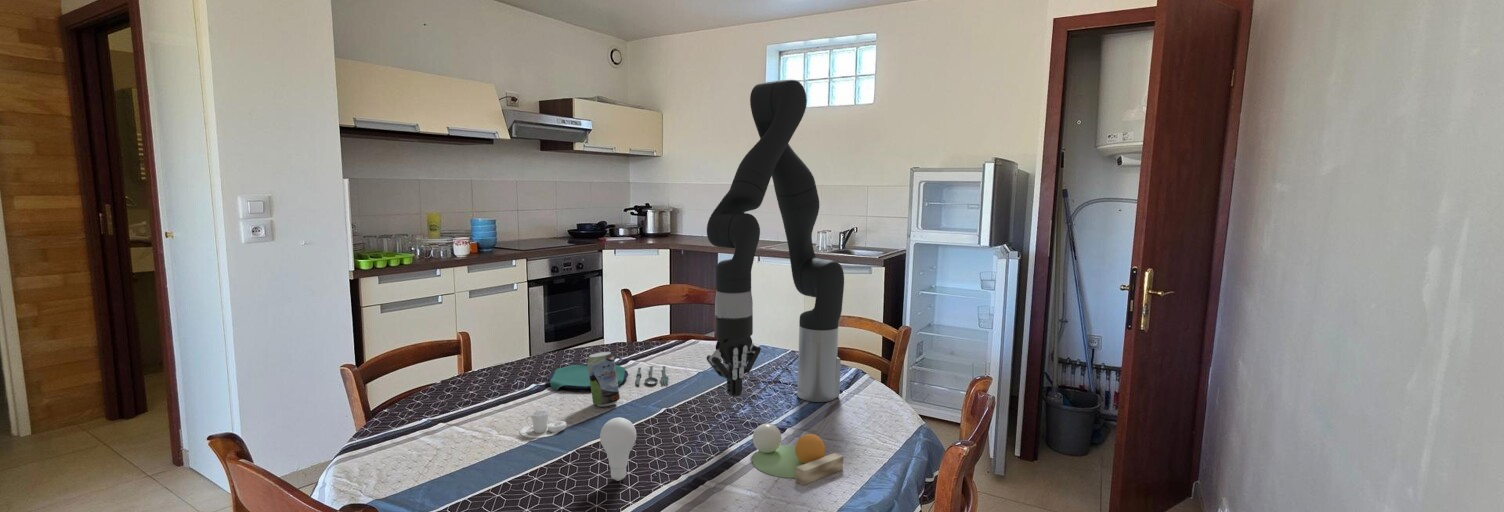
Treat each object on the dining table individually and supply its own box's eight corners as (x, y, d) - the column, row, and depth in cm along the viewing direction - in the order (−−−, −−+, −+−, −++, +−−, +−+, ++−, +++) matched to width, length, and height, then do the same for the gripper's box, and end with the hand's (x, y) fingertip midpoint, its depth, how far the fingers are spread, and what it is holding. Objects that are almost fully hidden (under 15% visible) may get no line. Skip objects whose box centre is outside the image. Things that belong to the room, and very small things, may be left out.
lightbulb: (602, 472, 120) (602, 412, 119) (637, 472, 120) (637, 412, 119) (598, 488, 114) (597, 425, 113) (634, 487, 114) (634, 424, 113)
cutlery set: (554, 371, 181) (553, 363, 181) (667, 369, 185) (667, 361, 185) (542, 396, 162) (541, 386, 161) (669, 392, 166) (669, 383, 166)
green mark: (803, 441, 136) (803, 440, 136) (842, 469, 123) (842, 468, 123) (739, 453, 129) (739, 452, 129) (774, 483, 117) (774, 482, 117)
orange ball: (822, 462, 128) (810, 434, 130) (835, 454, 123) (822, 426, 125) (798, 472, 125) (785, 444, 127) (810, 465, 120) (797, 435, 123)
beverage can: (613, 410, 151) (613, 357, 150) (582, 407, 153) (582, 355, 151) (624, 401, 157) (624, 350, 156) (594, 398, 159) (594, 348, 157)
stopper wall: (834, 465, 125) (834, 452, 124) (842, 469, 123) (843, 456, 123) (795, 481, 118) (795, 467, 118) (803, 485, 117) (804, 471, 116)
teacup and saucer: (571, 429, 141) (571, 410, 140) (548, 443, 134) (548, 423, 133) (536, 423, 144) (536, 404, 143) (511, 436, 136) (511, 417, 136)
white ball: (784, 451, 132) (765, 433, 135) (789, 431, 129) (769, 413, 132) (764, 463, 128) (744, 445, 131) (769, 443, 125) (749, 425, 128)
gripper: (746, 304, 143) (746, 384, 146) (696, 314, 134) (697, 398, 137) (770, 310, 138) (770, 392, 140) (720, 320, 129) (721, 408, 131)
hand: (734, 395), depth 138 cm, fingers closed
